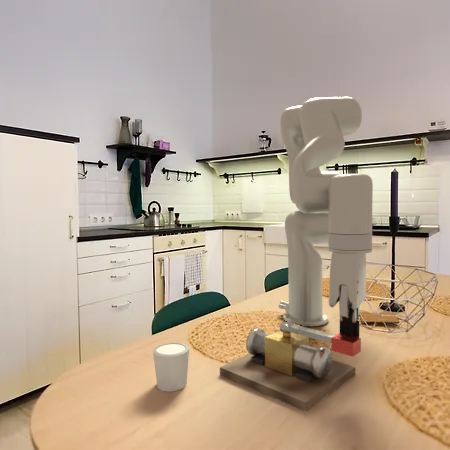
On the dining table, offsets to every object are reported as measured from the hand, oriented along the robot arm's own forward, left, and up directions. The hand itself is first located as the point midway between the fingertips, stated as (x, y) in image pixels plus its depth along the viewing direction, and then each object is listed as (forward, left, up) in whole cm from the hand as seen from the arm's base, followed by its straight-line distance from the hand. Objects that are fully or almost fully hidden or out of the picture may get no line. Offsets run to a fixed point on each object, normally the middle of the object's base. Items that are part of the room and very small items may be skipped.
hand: (349, 341), depth 71 cm
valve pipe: (-11, -4, -7) cm, 14 cm away
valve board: (-11, -4, -9) cm, 15 cm away
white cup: (-25, -22, -9) cm, 34 cm away
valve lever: (-5, -3, 0) cm, 6 cm away
